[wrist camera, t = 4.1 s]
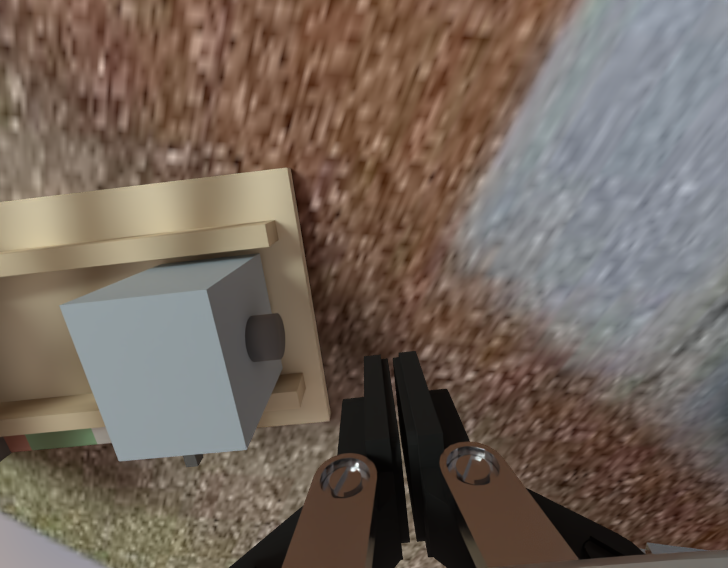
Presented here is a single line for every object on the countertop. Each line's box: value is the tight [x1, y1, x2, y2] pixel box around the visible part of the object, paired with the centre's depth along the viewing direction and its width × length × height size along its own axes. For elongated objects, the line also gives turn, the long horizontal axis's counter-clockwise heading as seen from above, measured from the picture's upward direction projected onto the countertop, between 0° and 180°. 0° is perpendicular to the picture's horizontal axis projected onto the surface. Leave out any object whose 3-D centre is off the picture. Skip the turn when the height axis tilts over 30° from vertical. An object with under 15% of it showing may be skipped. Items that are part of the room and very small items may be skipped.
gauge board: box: [0, 168, 331, 461], centre depth 15 cm, size 22×14×8 cm, turn 96°
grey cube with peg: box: [59, 253, 285, 467], centre depth 16 cm, size 6×10×6 cm, turn 6°
